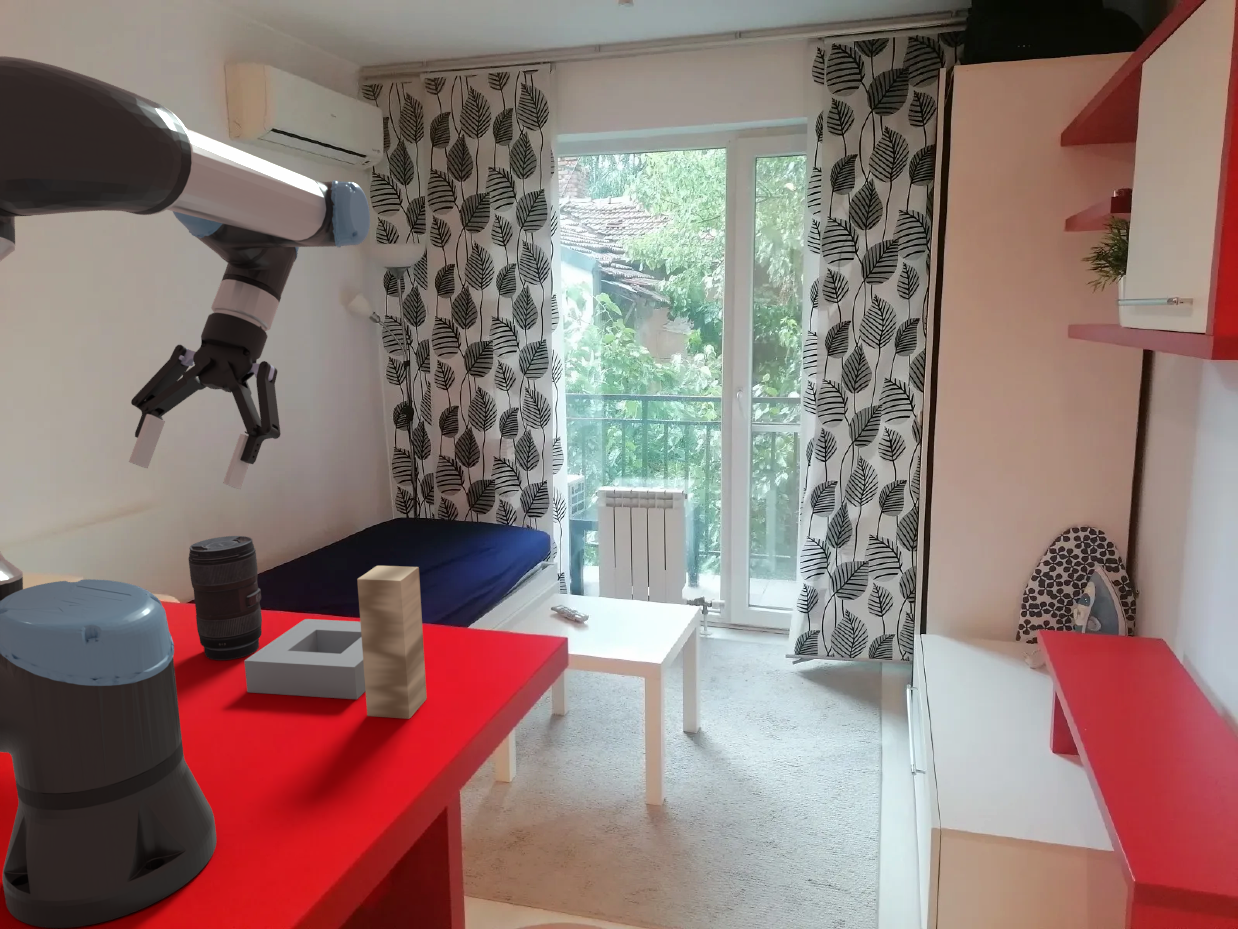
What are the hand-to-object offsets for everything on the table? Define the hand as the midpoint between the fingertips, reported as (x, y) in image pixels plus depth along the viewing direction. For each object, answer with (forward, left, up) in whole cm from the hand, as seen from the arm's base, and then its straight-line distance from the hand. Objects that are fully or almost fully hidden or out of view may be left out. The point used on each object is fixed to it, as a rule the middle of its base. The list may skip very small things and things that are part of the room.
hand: (184, 476), depth 111 cm
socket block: (-8, -17, -24) cm, 31 cm away
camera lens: (+2, -3, -25) cm, 25 cm away
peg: (-20, -26, -24) cm, 41 cm away
